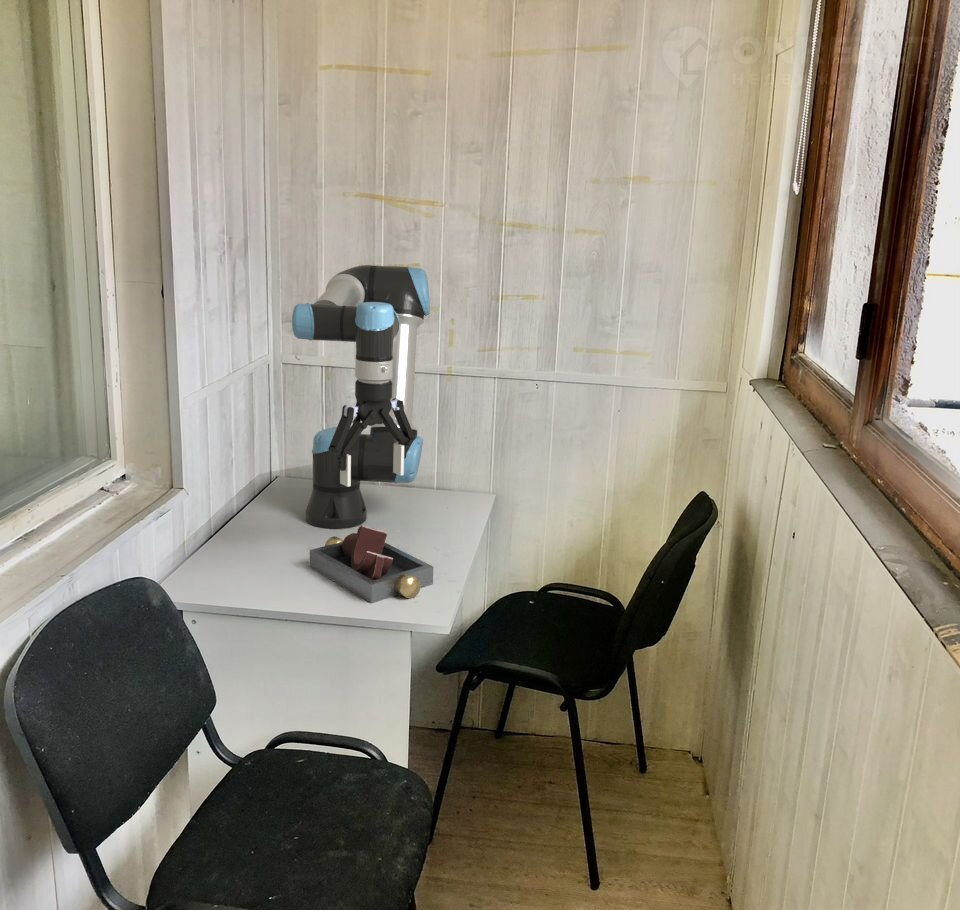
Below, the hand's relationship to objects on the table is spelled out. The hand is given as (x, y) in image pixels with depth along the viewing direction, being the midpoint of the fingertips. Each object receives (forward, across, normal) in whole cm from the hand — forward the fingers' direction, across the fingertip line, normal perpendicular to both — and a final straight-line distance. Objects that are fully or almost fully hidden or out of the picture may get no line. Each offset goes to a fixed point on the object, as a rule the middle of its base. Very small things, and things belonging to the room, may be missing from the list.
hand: (372, 479), depth 193 cm
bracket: (+21, 0, 0) cm, 21 cm away
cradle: (+22, 0, 0) cm, 22 cm away
